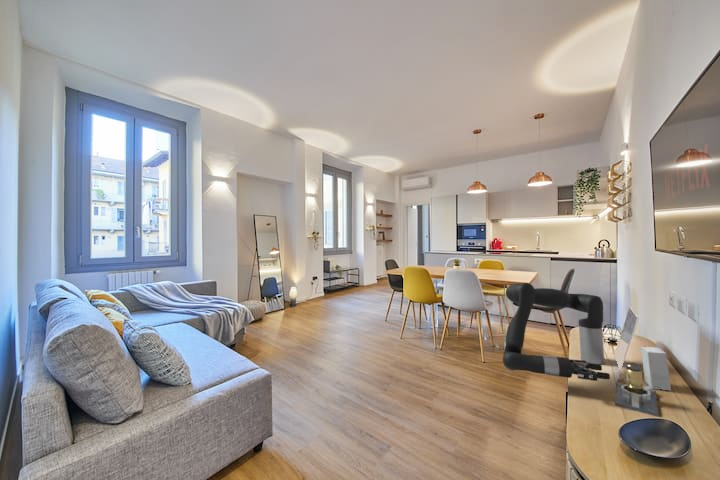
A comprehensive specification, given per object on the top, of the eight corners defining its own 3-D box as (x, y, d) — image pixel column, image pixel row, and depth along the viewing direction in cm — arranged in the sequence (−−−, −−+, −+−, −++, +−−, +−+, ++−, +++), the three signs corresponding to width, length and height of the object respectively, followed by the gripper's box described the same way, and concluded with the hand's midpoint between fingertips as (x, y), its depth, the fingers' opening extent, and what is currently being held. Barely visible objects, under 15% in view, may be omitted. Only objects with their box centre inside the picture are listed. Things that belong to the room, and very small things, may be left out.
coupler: (627, 392, 111) (625, 361, 112) (644, 396, 108) (641, 364, 108) (627, 397, 108) (624, 364, 108) (644, 401, 105) (641, 368, 105)
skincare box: (671, 391, 112) (668, 353, 113) (650, 388, 115) (647, 351, 116) (662, 382, 119) (659, 347, 120) (642, 380, 122) (640, 345, 123)
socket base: (617, 385, 119) (617, 376, 119) (655, 393, 111) (655, 384, 111) (615, 405, 105) (614, 395, 105) (658, 416, 97) (657, 406, 97)
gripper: (559, 363, 112) (612, 369, 105) (552, 351, 125) (598, 355, 118) (560, 383, 112) (613, 390, 105) (553, 368, 125) (599, 374, 118)
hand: (605, 371), depth 112 cm, fingers open, 8 cm apart
